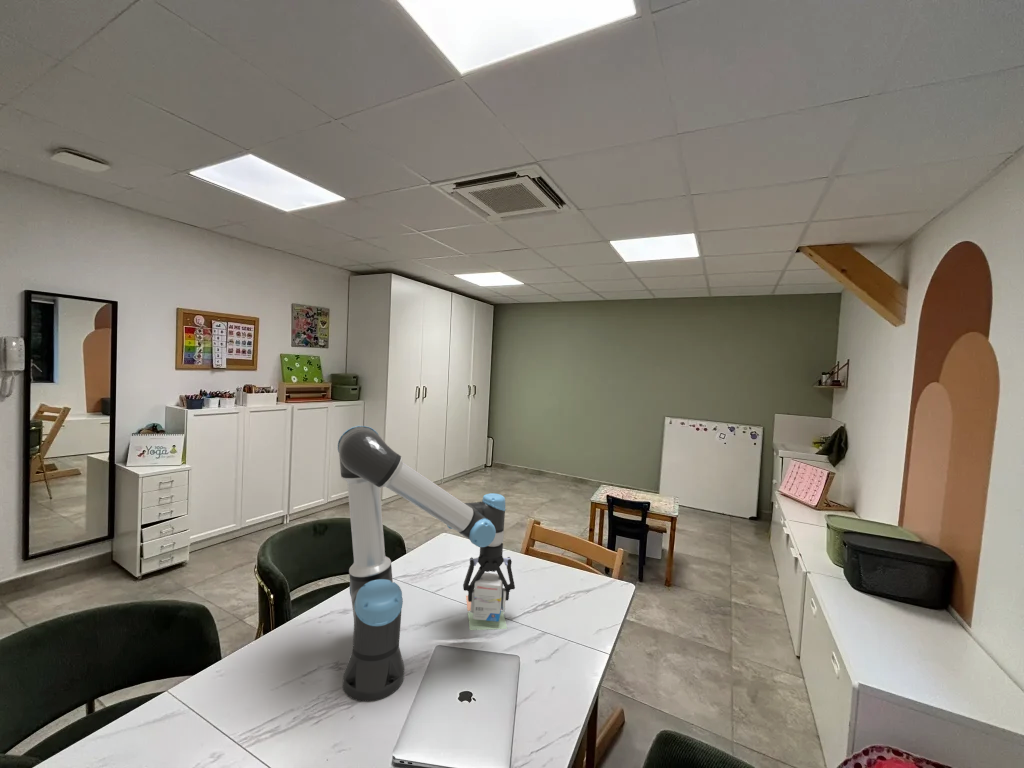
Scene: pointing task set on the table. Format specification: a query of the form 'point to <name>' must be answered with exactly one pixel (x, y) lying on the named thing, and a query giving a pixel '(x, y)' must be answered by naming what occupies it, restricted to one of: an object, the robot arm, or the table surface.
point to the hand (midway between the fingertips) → (487, 610)
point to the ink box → (488, 597)
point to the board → (484, 621)
